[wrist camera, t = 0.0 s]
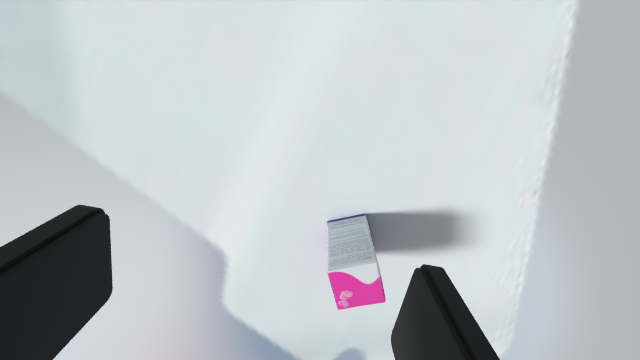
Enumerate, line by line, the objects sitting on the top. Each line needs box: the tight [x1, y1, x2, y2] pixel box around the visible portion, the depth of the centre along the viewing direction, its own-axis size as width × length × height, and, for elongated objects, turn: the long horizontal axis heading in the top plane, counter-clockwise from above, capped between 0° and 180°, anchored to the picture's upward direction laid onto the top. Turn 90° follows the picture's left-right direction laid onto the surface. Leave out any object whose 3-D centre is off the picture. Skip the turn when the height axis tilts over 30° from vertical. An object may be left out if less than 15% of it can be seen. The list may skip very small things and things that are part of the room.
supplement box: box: [327, 214, 385, 310], centre depth 39 cm, size 6×6×12 cm
